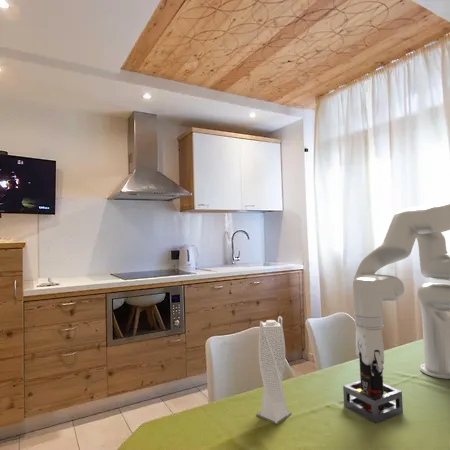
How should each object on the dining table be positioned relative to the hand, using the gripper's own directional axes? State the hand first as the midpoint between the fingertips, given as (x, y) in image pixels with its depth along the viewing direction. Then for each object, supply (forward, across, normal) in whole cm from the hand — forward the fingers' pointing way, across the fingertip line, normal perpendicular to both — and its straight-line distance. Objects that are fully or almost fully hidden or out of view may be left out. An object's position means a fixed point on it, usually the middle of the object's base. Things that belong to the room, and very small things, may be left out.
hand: (371, 384), depth 97 cm
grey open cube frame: (+7, 0, 0) cm, 7 cm away
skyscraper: (+7, +4, -28) cm, 29 cm away
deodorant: (+6, 0, 0) cm, 6 cm away
